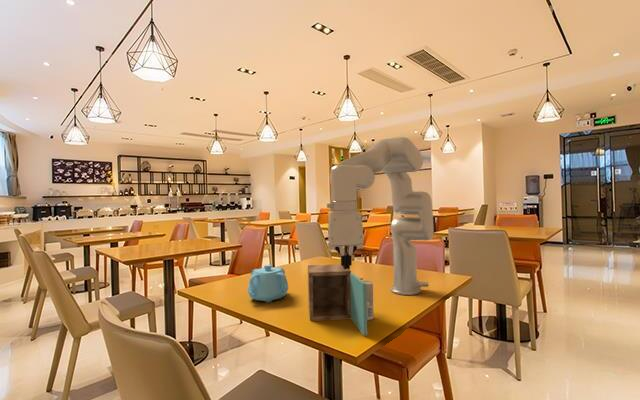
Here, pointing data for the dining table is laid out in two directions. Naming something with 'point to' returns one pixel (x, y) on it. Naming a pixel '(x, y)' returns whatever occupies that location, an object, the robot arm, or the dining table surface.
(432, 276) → the dining table surface
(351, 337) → the dining table surface
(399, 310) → the dining table surface
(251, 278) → the decorative pot
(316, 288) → the cabinet
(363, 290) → the door
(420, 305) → the dining table surface
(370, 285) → the energy drink
